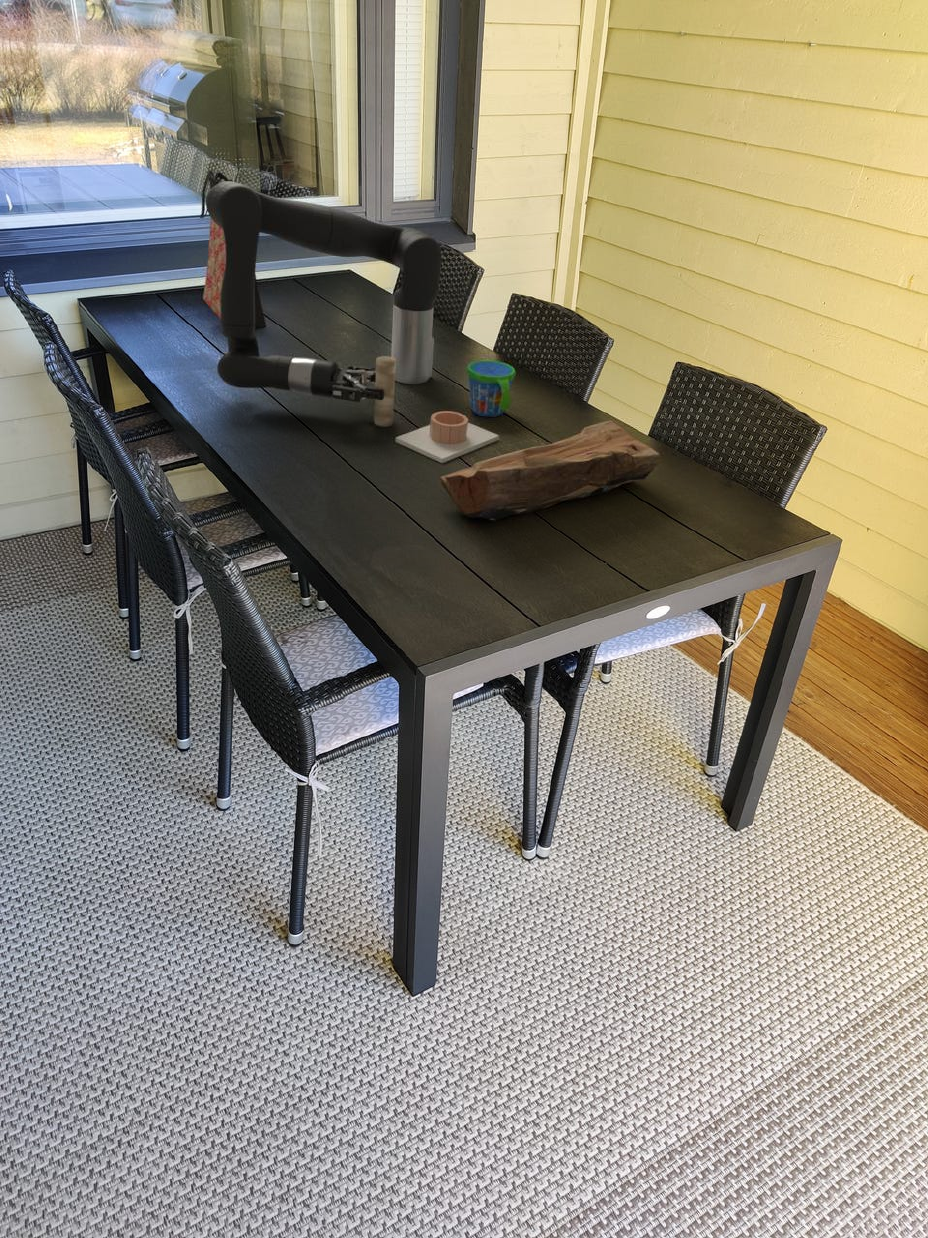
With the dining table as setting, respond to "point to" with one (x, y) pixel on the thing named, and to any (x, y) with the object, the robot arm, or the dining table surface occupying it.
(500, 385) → the snack cup
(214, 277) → the gift bag
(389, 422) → the ash dowel
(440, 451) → the stand board
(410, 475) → the dining table surface
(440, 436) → the ring
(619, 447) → the log
